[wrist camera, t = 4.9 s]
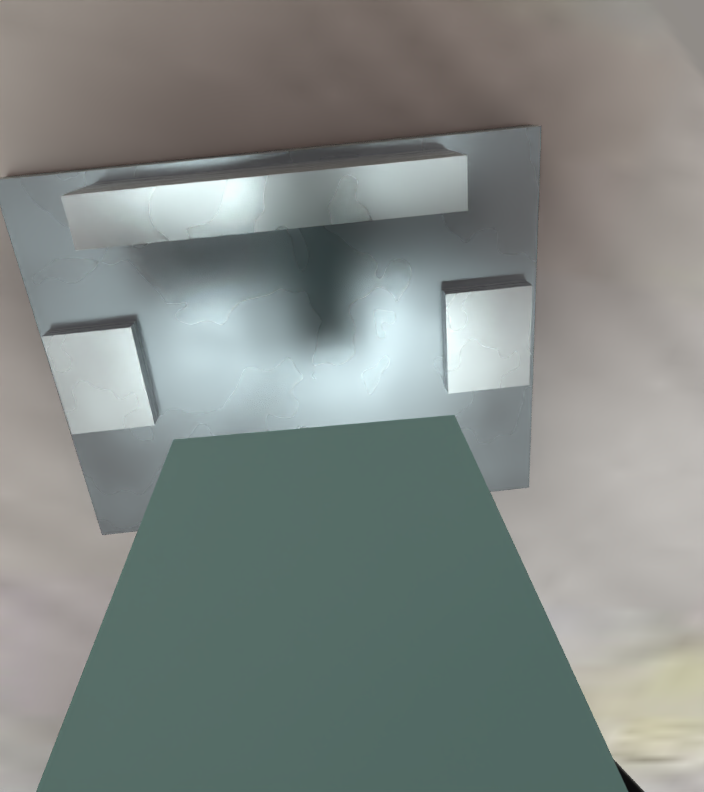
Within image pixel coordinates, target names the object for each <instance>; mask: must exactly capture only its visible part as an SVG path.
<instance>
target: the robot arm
mask: <svg viewBox="0 0 704 792" xmlns="http://www.w3.org/2000/svg"><path fill="white" fill-rule="evenodd" d="M613 760H614V759H613ZM614 762H615V764H616V766H617V769H618V771H619V773H620V775H621V777H622V779H623V782H624V784H625V786H626V788H627V790H628V792H644V791H643V790H642V789H641V788H640V787H639V786H638V785H637V784H636V782H635V781H634V780H633V779H632V778H631V777H630V776H629V775H628V774H627V773H626V772H625V771H624V770H623V769H622V768H621V767H620V766H619V765H618V763H617V762H616V761H615V760H614Z"/></svg>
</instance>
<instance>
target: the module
mask: <svg viewBox="0 0 704 792" xmlns="http://www.w3.org/2000/svg"><path fill="white" fill-rule="evenodd" d="M36 792H628V790H627V788H626V786H625V784H624V782H623V779H622V777H621V775H620V773H619V771H618V769H617V766H616V764H615V762H614V760H613V758H612V756H611V753H610V751H609V749H608V747H607V745H606V743H605V740H604V738H603V736H602V734H601V732H600V730H599V727H598V725H597V723H596V721H595V719H594V717H593V714H592V712H591V710H590V708H589V706H588V703H587V701H586V699H585V697H584V695H583V693H582V690H581V688H580V686H579V684H578V682H577V680H576V677H575V675H574V673H573V671H572V669H571V667H570V664H569V662H568V660H567V658H566V656H565V654H564V651H563V649H562V647H561V645H560V643H559V641H558V638H557V636H556V634H555V632H554V630H553V628H552V625H551V623H550V621H549V619H548V617H547V615H546V612H545V610H544V608H543V606H542V604H541V602H540V599H539V597H538V595H537V593H536V591H535V589H534V586H533V584H532V582H531V580H530V578H529V576H528V573H527V571H526V569H525V567H524V565H523V563H522V560H521V558H520V556H519V554H518V552H517V549H516V547H515V545H514V543H513V541H512V539H511V536H510V534H509V532H508V530H507V528H506V526H505V523H504V521H503V519H502V517H501V515H500V513H499V510H498V508H497V506H496V504H495V502H494V500H493V497H492V495H491V493H490V491H489V489H488V487H487V484H486V482H485V480H484V478H483V476H482V474H481V471H480V469H479V467H478V465H477V463H476V461H475V458H474V456H473V454H472V452H471V450H470V448H469V445H468V443H467V441H466V439H465V437H464V435H463V432H462V430H461V428H460V426H459V424H458V422H457V419H456V417H455V415H447V416H436V417H424V418H413V419H402V420H390V421H379V422H368V423H356V424H345V425H334V426H322V427H311V428H299V429H288V430H277V431H265V432H254V433H243V434H231V435H220V436H209V437H197V438H186V439H175V440H173V442H172V445H171V447H170V450H169V452H168V455H167V457H166V460H165V462H164V465H163V468H162V470H161V473H160V475H159V478H158V480H157V483H156V486H155V488H154V491H153V493H152V496H151V498H150V501H149V504H148V506H147V509H146V511H145V514H144V516H143V519H142V522H141V524H140V527H139V529H138V532H137V534H136V537H135V539H134V542H133V545H132V547H131V550H130V552H129V555H128V557H127V560H126V563H125V565H124V568H123V570H122V573H121V575H120V578H119V581H118V583H117V586H116V588H115V591H114V593H113V596H112V599H111V601H110V604H109V606H108V609H107V611H106V614H105V616H104V619H103V622H102V624H101V627H100V629H99V632H98V634H97V637H96V640H95V642H94V645H93V647H92V650H91V652H90V655H89V658H88V660H87V663H86V665H85V668H84V670H83V673H82V676H81V678H80V681H79V683H78V686H77V688H76V691H75V693H74V696H73V699H72V701H71V704H70V706H69V709H68V711H67V714H66V717H65V719H64V722H63V724H62V727H61V729H60V732H59V735H58V737H57V740H56V742H55V745H54V747H53V750H52V753H51V755H50V758H49V760H48V763H47V765H46V768H45V770H44V773H43V776H42V778H41V781H40V783H39V786H38V788H37V791H36Z"/></svg>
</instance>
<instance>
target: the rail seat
mask: <svg viewBox="0 0 704 792" xmlns="http://www.w3.org/2000/svg"><path fill="white" fill-rule="evenodd" d="M540 148H541V126H535V125H528V126H517V127H507V128H497V129H487V130H477V131H467V132H457V133H446V134H436V135H426V136H416V137H406V138H396V139H386V140H376V141H365V142H355V143H345V144H335V145H325V146H315V147H305V148H294V149H284V150H274V151H264V152H254V153H244V154H234V155H224V156H213V157H203V158H193V159H183V160H173V161H163V162H153V163H142V164H132V165H122V166H112V167H102V168H92V169H82V170H72V171H61V172H51V173H41V174H31V175H21V176H11V177H4V178H0V207H1V211H2V214H3V217H4V220H5V223H6V227H7V230H8V233H9V236H10V240H11V243H12V246H13V249H14V252H15V256H16V259H17V262H18V265H19V268H20V272H21V275H22V278H23V281H24V285H25V288H26V291H27V294H28V297H29V301H30V304H31V307H32V310H33V314H34V317H35V320H36V323H37V326H38V330H39V333H40V336H41V339H42V343H43V346H44V349H45V352H46V355H47V359H48V362H49V365H50V368H51V372H52V375H53V378H54V381H55V384H56V388H57V391H58V394H59V397H60V401H61V404H62V407H63V410H64V413H65V417H66V420H67V423H68V426H69V430H70V433H71V436H72V439H73V442H74V446H75V449H76V452H77V455H78V459H79V462H80V465H81V468H82V471H83V475H84V478H85V481H86V484H87V488H88V491H89V494H90V497H91V500H92V504H93V507H94V510H95V513H96V516H97V520H98V523H99V526H100V529H101V533H102V535H106V534H115V533H124V532H133V531H138V529H139V527H140V524H141V522H142V519H143V516H144V514H145V511H146V509H147V506H148V504H149V501H150V498H151V496H152V493H153V491H154V488H155V486H156V483H157V480H158V478H159V475H160V473H161V470H162V468H163V465H164V462H165V460H166V457H167V455H168V452H169V450H170V447H171V445H172V442H173V440H175V439H186V438H197V437H209V436H220V435H231V434H243V433H254V432H265V431H277V430H288V429H299V428H311V427H322V426H334V425H345V424H356V423H368V422H379V421H390V420H402V419H413V418H424V417H436V416H447V415H455V417H456V419H457V422H458V424H459V426H460V428H461V430H462V432H463V435H464V437H465V439H466V441H467V443H468V445H469V448H470V450H471V452H472V454H473V456H474V458H475V461H476V463H477V465H478V467H479V469H480V471H481V474H482V476H483V478H484V480H485V482H486V484H487V487H488V489H489V491H490V492H492V491H501V490H510V489H519V488H528V487H529V471H530V442H531V412H532V383H533V354H534V324H535V295H536V266H537V236H538V207H539V178H540Z"/></svg>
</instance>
